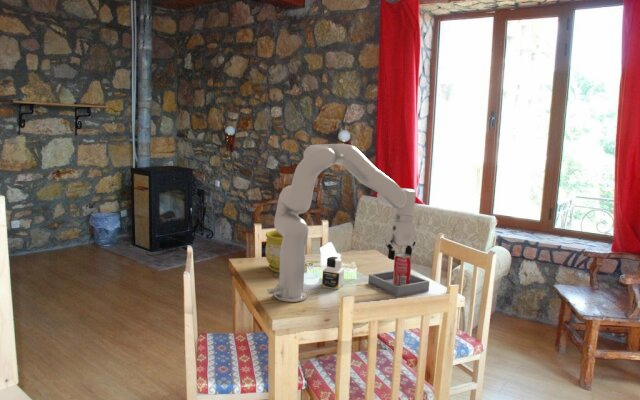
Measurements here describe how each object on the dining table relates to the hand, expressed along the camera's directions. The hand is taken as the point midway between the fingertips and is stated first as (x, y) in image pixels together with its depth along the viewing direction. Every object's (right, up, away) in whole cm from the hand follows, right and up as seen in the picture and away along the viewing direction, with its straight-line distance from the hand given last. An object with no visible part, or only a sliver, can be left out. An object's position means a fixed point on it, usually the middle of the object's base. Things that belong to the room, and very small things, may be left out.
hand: (399, 258), depth 216 cm
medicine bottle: (-28, -12, -1) cm, 30 cm away
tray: (0, -13, +2) cm, 13 cm away
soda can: (+1, -12, +2) cm, 12 cm away
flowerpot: (-50, -7, +17) cm, 53 cm away
